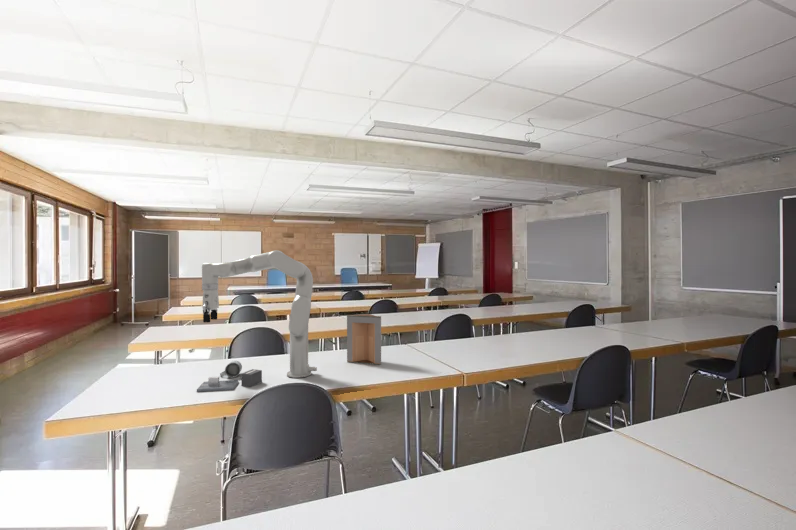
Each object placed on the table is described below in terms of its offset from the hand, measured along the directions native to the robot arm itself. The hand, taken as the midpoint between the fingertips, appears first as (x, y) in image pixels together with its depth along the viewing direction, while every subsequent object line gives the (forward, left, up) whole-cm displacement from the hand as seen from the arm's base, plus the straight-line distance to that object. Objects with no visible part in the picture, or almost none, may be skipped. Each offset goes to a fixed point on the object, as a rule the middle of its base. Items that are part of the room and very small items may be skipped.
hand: (210, 320), depth 208 cm
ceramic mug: (-9, -6, -30) cm, 32 cm away
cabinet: (-82, -22, -30) cm, 90 cm away
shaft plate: (-7, +13, -30) cm, 33 cm away
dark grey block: (-22, +11, -30) cm, 39 cm away
